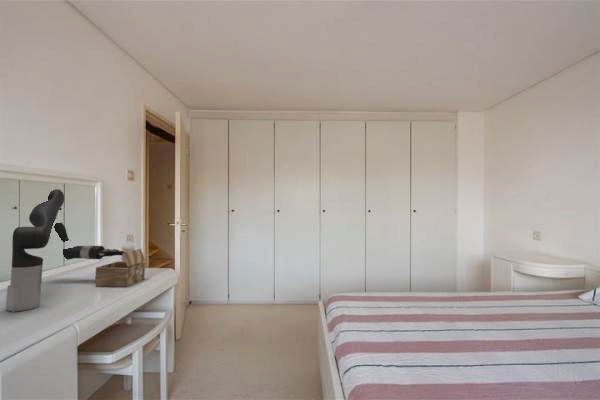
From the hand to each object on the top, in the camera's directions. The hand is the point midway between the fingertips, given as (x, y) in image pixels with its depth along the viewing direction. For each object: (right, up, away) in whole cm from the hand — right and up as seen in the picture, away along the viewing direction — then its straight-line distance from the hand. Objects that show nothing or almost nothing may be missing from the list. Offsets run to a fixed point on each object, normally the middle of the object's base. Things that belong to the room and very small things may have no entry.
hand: (123, 253), depth 158 cm
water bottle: (-10, -17, +19) cm, 27 cm away
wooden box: (-1, -17, -1) cm, 17 cm away
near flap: (+6, -2, 0) cm, 6 cm away
